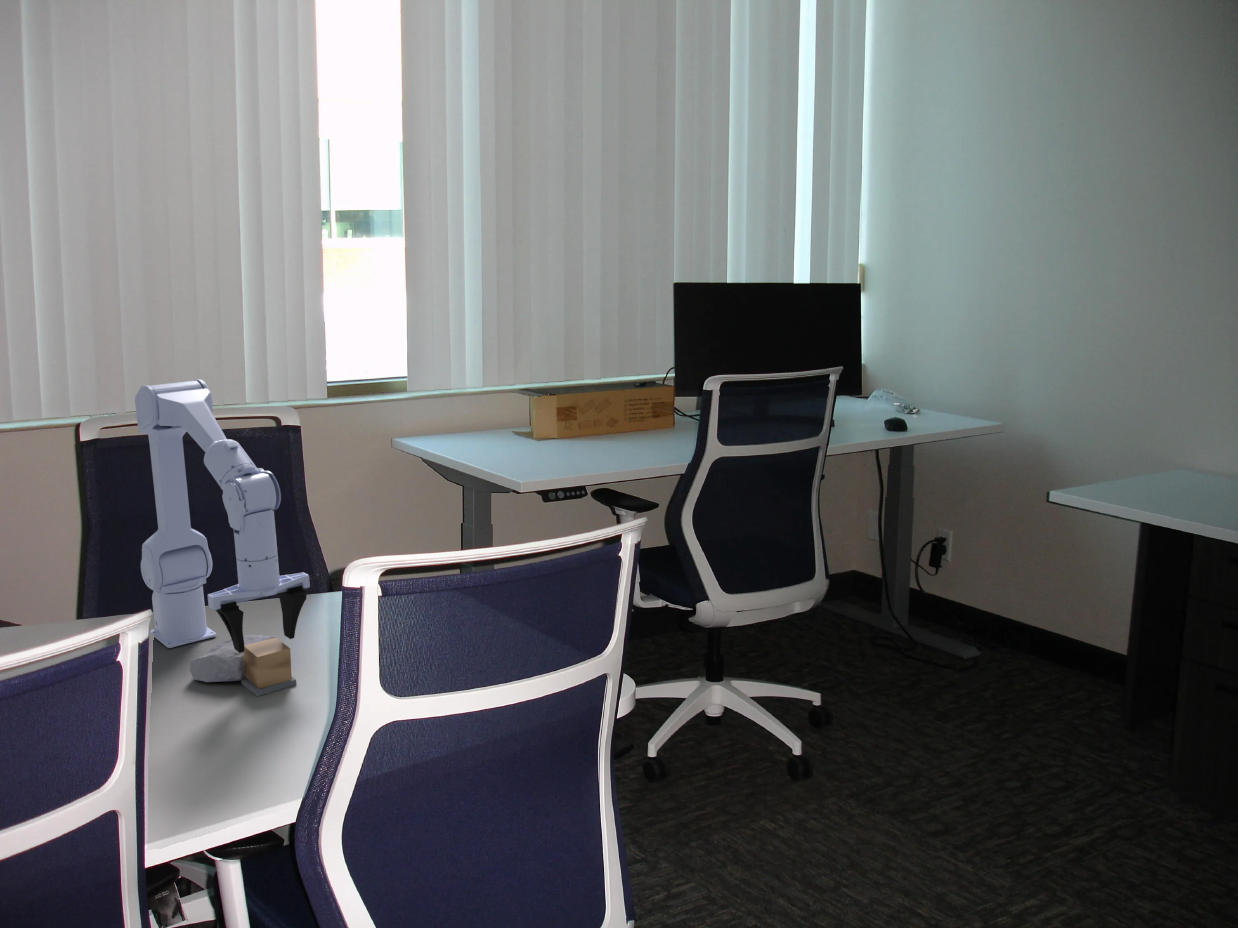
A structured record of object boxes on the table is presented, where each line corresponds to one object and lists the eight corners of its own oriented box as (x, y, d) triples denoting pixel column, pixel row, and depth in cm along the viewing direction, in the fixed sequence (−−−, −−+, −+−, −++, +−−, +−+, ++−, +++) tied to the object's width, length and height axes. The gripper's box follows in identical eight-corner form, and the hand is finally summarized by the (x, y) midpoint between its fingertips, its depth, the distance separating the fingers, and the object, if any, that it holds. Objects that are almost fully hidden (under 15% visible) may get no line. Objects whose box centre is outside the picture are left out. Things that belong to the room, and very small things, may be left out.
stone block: (188, 693, 157) (244, 680, 155) (178, 663, 157) (234, 649, 154) (233, 666, 169) (286, 654, 166) (224, 638, 168) (277, 625, 166)
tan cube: (245, 676, 157) (243, 645, 155) (277, 667, 160) (276, 637, 159) (258, 688, 153) (257, 656, 152) (291, 679, 156) (290, 648, 155)
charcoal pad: (241, 683, 157) (240, 678, 157) (279, 672, 161) (279, 667, 161) (257, 696, 153) (256, 691, 152) (296, 684, 156) (296, 679, 156)
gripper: (217, 572, 145) (226, 664, 148) (315, 551, 154) (322, 638, 157) (198, 561, 150) (208, 650, 153) (295, 541, 159) (302, 625, 162)
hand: (264, 643), depth 155 cm, fingers open, 7 cm apart
